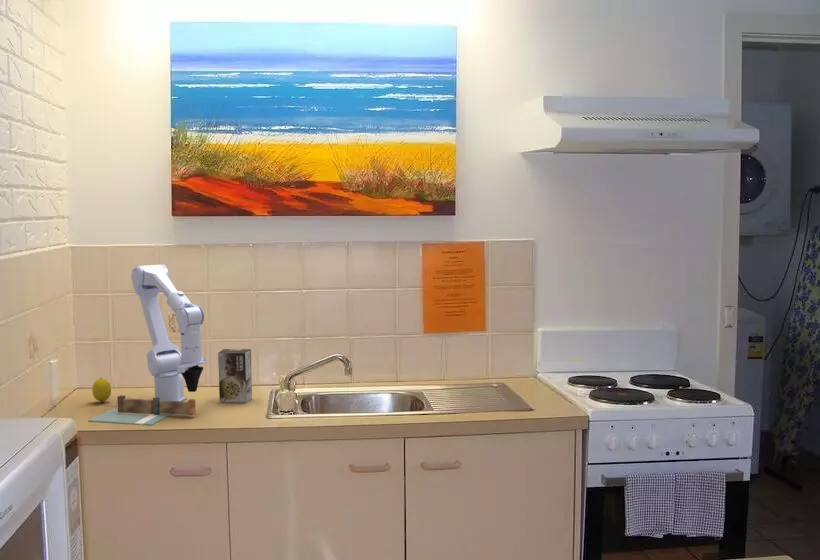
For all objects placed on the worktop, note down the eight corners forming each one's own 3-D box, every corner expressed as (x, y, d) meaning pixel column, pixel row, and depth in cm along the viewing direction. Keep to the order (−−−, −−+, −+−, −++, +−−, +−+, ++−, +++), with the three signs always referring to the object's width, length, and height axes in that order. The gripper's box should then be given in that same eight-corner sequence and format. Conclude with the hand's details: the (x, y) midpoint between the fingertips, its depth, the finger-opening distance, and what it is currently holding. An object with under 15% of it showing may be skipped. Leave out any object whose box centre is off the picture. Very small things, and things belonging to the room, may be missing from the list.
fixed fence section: (117, 413, 240) (116, 396, 239) (121, 412, 242) (120, 395, 241) (158, 416, 237) (157, 398, 237) (161, 414, 239) (160, 397, 239)
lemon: (114, 400, 256) (113, 375, 255) (108, 404, 250) (107, 379, 249) (96, 400, 256) (95, 375, 255) (90, 404, 250) (89, 379, 249)
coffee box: (252, 398, 259) (251, 348, 257) (246, 403, 252) (245, 352, 251) (225, 397, 260) (224, 348, 258) (218, 402, 253) (217, 352, 252)
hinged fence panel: (159, 413, 237) (158, 398, 237) (161, 412, 239) (161, 397, 239) (193, 415, 235) (192, 400, 235) (195, 413, 237) (195, 399, 236)
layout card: (125, 403, 251) (125, 402, 251) (184, 407, 248) (184, 405, 248) (88, 421, 232) (88, 420, 232) (152, 425, 228) (151, 423, 228)
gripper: (192, 351, 233) (193, 397, 234) (213, 342, 247) (215, 386, 249) (169, 350, 234) (171, 396, 236) (192, 342, 249) (193, 385, 250)
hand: (192, 391), depth 242 cm, fingers closed
